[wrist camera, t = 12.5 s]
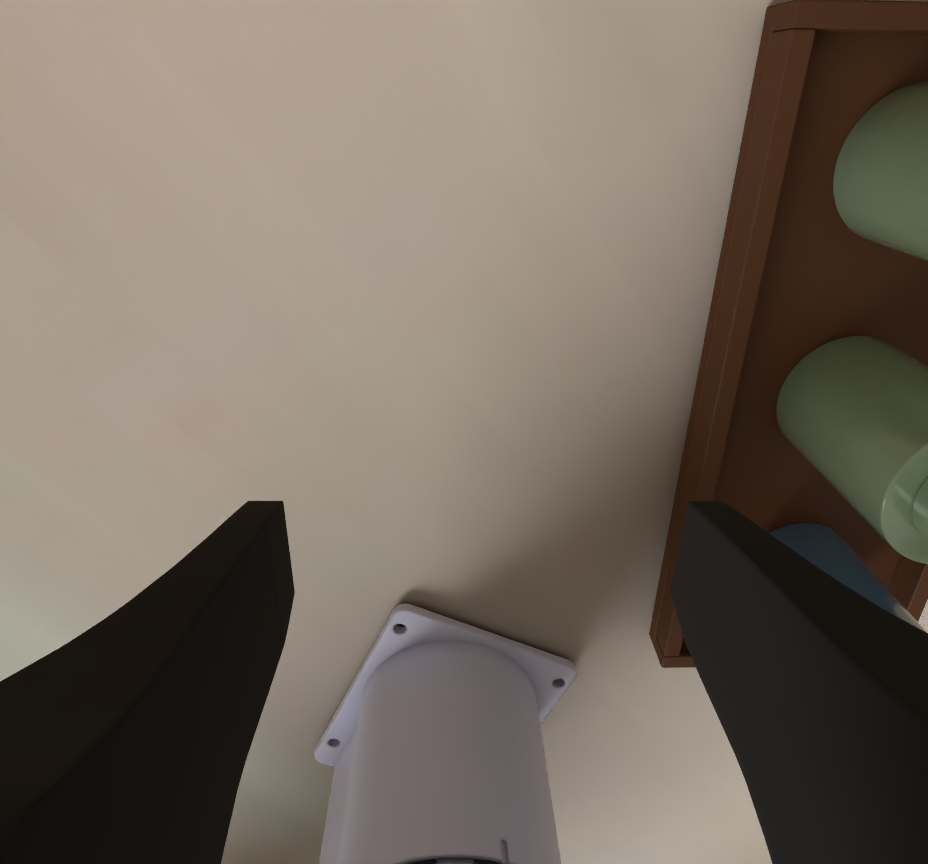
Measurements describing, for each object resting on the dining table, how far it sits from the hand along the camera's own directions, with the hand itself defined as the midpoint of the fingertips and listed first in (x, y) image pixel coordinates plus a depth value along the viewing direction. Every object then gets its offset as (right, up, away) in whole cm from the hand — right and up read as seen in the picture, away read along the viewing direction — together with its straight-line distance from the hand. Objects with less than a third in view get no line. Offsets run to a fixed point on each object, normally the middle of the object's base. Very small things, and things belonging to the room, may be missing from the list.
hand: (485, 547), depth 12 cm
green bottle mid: (+12, +3, +10) cm, 16 cm away
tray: (+12, +3, +10) cm, 16 cm away
